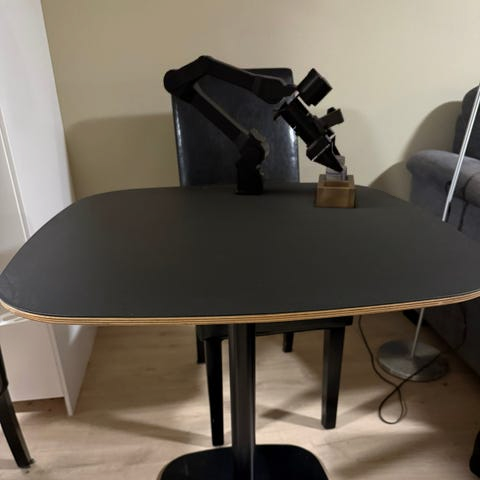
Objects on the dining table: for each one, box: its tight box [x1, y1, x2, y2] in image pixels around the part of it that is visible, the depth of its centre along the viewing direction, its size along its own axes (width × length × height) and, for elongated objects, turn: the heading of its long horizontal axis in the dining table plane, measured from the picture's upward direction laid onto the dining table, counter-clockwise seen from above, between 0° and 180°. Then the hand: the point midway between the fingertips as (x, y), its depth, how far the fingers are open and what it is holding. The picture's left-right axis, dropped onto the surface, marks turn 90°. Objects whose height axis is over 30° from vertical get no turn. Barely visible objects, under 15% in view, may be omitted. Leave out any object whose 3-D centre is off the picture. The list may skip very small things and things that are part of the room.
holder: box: [315, 173, 356, 209], centre depth 122 cm, size 9×16×4 cm, turn 170°
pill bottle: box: [325, 155, 348, 181], centre depth 124 cm, size 6×5×10 cm
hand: (342, 167), depth 122 cm, fingers open, 9 cm apart
